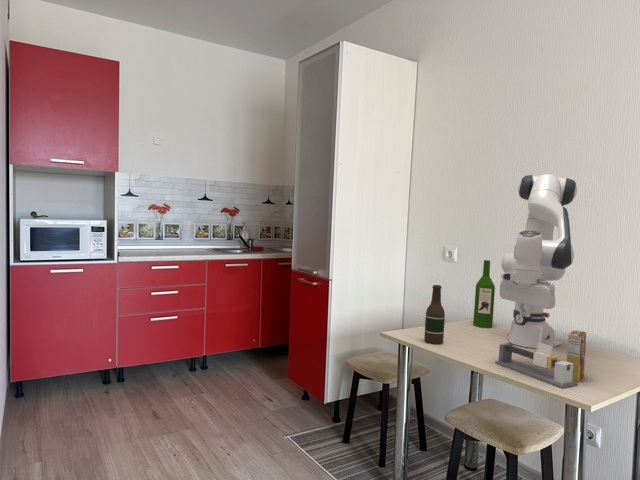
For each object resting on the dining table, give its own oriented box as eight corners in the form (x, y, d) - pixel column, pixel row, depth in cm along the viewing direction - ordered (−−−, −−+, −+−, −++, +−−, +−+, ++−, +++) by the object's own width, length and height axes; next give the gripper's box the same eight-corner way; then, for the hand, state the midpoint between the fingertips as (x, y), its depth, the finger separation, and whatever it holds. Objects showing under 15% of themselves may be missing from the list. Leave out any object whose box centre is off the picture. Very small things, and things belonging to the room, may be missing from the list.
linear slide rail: (509, 360, 171) (511, 340, 171) (577, 385, 148) (579, 361, 148) (495, 363, 167) (496, 342, 167) (562, 388, 144) (564, 364, 144)
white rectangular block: (540, 362, 158) (542, 342, 157) (554, 366, 153) (555, 346, 153) (533, 363, 156) (534, 343, 155) (546, 368, 152) (548, 347, 151)
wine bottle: (474, 327, 223) (479, 260, 221) (471, 323, 232) (476, 259, 230) (494, 328, 221) (498, 261, 219) (490, 324, 230) (494, 260, 228)
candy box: (570, 372, 161) (573, 329, 160) (584, 375, 158) (587, 332, 157) (564, 378, 154) (567, 334, 153) (578, 382, 151) (582, 336, 150)
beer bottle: (443, 345, 188) (447, 287, 187) (424, 343, 189) (427, 285, 188) (442, 340, 195) (446, 284, 194) (423, 338, 197) (427, 283, 196)
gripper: (560, 281, 153) (558, 322, 154) (509, 272, 171) (507, 309, 172) (548, 282, 150) (546, 324, 151) (497, 273, 168) (495, 310, 169)
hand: (525, 316), depth 162 cm, fingers closed
